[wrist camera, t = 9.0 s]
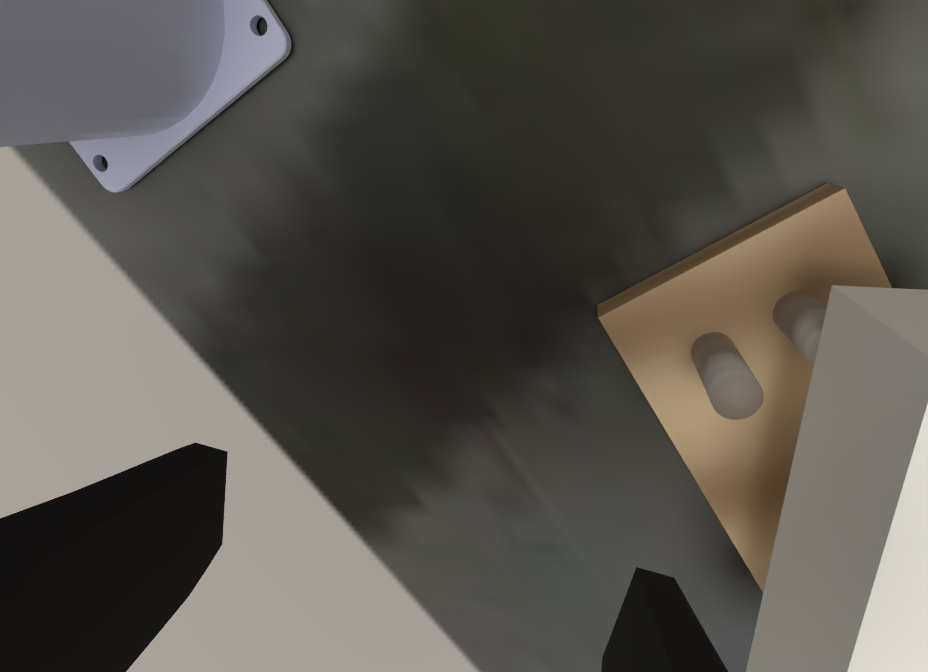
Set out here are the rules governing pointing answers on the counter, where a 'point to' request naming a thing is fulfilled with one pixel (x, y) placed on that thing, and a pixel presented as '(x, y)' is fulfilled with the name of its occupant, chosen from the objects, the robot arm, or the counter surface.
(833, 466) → the white rectangular block
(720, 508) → the peg stand
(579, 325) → the counter surface
